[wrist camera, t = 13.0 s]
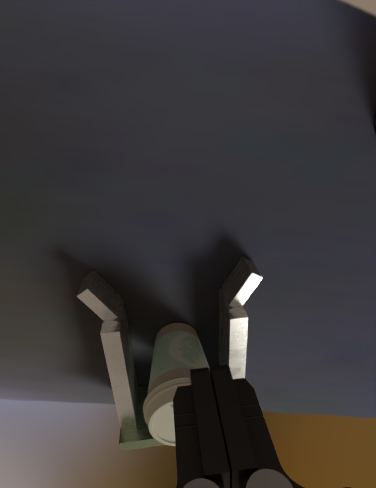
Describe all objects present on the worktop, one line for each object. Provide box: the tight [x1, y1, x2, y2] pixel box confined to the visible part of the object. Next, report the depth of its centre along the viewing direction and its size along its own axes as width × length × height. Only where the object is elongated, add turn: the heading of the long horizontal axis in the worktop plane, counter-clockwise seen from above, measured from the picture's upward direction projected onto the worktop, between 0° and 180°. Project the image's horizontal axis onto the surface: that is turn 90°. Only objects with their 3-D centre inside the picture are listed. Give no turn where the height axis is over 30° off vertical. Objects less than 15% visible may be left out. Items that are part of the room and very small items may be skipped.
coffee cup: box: [143, 323, 210, 446], centre depth 36 cm, size 8×8×12 cm
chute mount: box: [77, 256, 263, 451], centre depth 37 cm, size 20×21×8 cm
